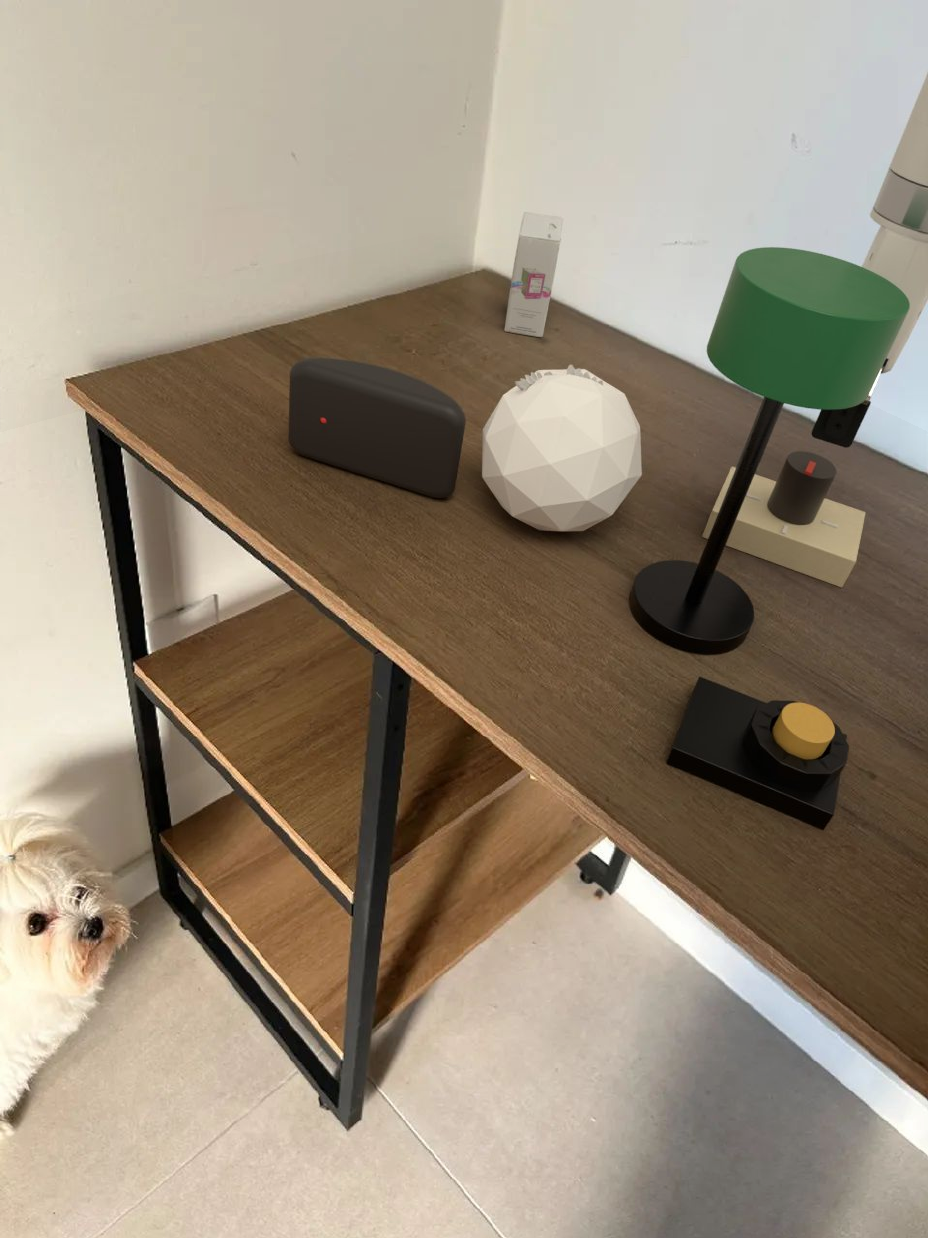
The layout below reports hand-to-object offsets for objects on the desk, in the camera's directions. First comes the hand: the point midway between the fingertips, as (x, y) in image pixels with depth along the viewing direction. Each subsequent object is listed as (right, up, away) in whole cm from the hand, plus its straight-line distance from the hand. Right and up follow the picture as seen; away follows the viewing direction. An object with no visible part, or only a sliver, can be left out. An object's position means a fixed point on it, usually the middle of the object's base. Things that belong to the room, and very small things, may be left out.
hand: (836, 417), depth 79 cm
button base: (-11, -27, -13) cm, 32 cm away
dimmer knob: (-2, -7, +7) cm, 10 cm away
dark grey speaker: (-40, -4, +7) cm, 41 cm away
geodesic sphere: (-24, -8, +6) cm, 26 cm away
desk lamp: (-13, -17, -2) cm, 21 cm away
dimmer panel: (-2, -9, +9) cm, 13 cm away
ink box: (-24, +20, +37) cm, 49 cm away
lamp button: (-9, -25, -15) cm, 31 cm away
